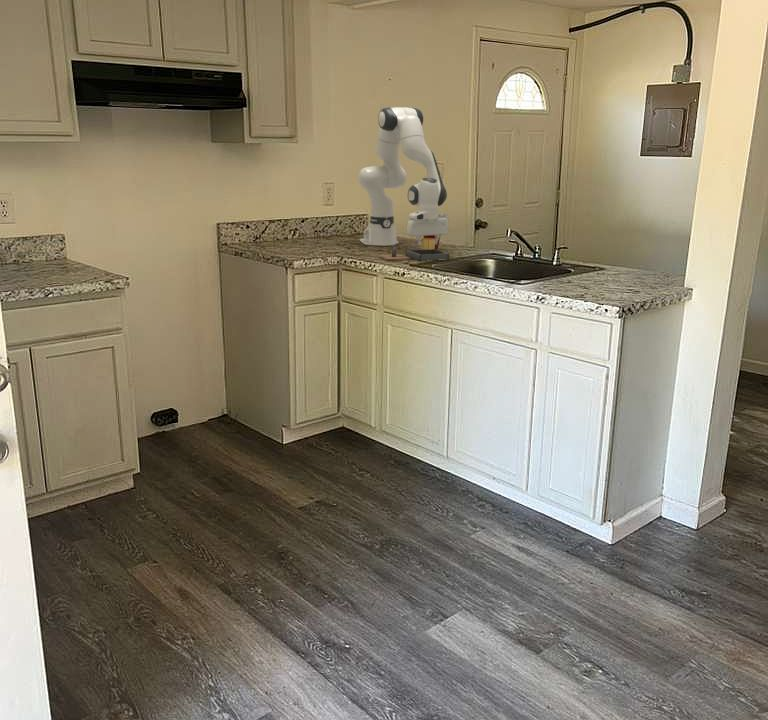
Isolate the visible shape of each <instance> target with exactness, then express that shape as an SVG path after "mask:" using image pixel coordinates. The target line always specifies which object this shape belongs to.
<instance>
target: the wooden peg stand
mask: <svg viewBox="0 0 768 720" xmlns="http://www.w3.org/2000/svg"><path fill="white" fill-rule="evenodd" d="M390 246H391V254H378V256H377V257H378V259H380V260H381V259H382V260H384V261H386V262H399V261H410V260H411V258H409V257H407V256H406V255H404V254H400V253H397V248H398V245H397V244H395V245H390Z"/></svg>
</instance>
